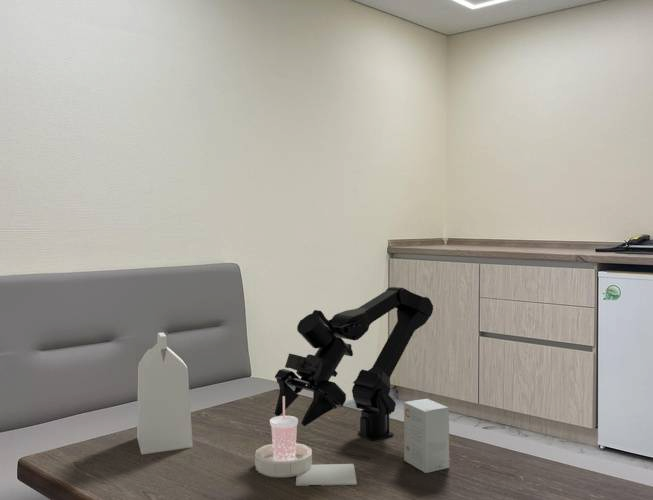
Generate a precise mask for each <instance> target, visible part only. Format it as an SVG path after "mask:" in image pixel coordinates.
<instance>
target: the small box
mask: <svg viewBox="0 0 653 500" xmlns="http://www.w3.org/2000/svg"><path fill="white" fill-rule="evenodd" d="M403 423H404V424H403V427H404V428H403V429H404V431H403V437H404V439H403V440H404V441H403V443H404V445H403V447H404V448H403V449H404V452H403V454H404V462H406V463H407V464H409V465H411V466H413V467H414V468H416V469H418V470H420V471H421V472H422V473H424V474H428V473H433V472H437V471H442V470H445V469H449V468H450V410H449V407H448V406H445V405H444V404H440V403H439V402H437V401H433V400H432V399H429V398H423V399H416V400H415V399H414V400H407V401H404V402H403Z"/></svg>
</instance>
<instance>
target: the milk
mask: <svg viewBox="0 0 653 500" xmlns="http://www.w3.org/2000/svg"><path fill="white" fill-rule="evenodd" d="M156 341H157V342H156V344H155V345H154V346H153V347H152V348H149V349H147V351H146V352H145V353H144V354H143V356H142V358H141V360H139V362H138V364H137V365H138V366H137V415H136V416H137V421H136V422H137V424H136V428H137V429H136V433H137V434H136V436H137V437H136V439H137V442H138V446H139V451H140V454H141V455H146V454H147V455H148V454H154V453H162V452H168V451H169V452H170V451H174V450H175V451H176V450H182V449H183V450H184V449H189V448H190V449H191V448H193V434H192V433H193V430H192V419H191V418H192V415H191V401H190V384H189V382H190V381H189V371H188V366H187V364H186V363H185V361H183V359H182V358H181V357H180V356H178V355H177V353H175V352H174V350H172V349H171V348H170V347H168V337H167V335H166V334H165V332H157V339H156Z"/></svg>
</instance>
